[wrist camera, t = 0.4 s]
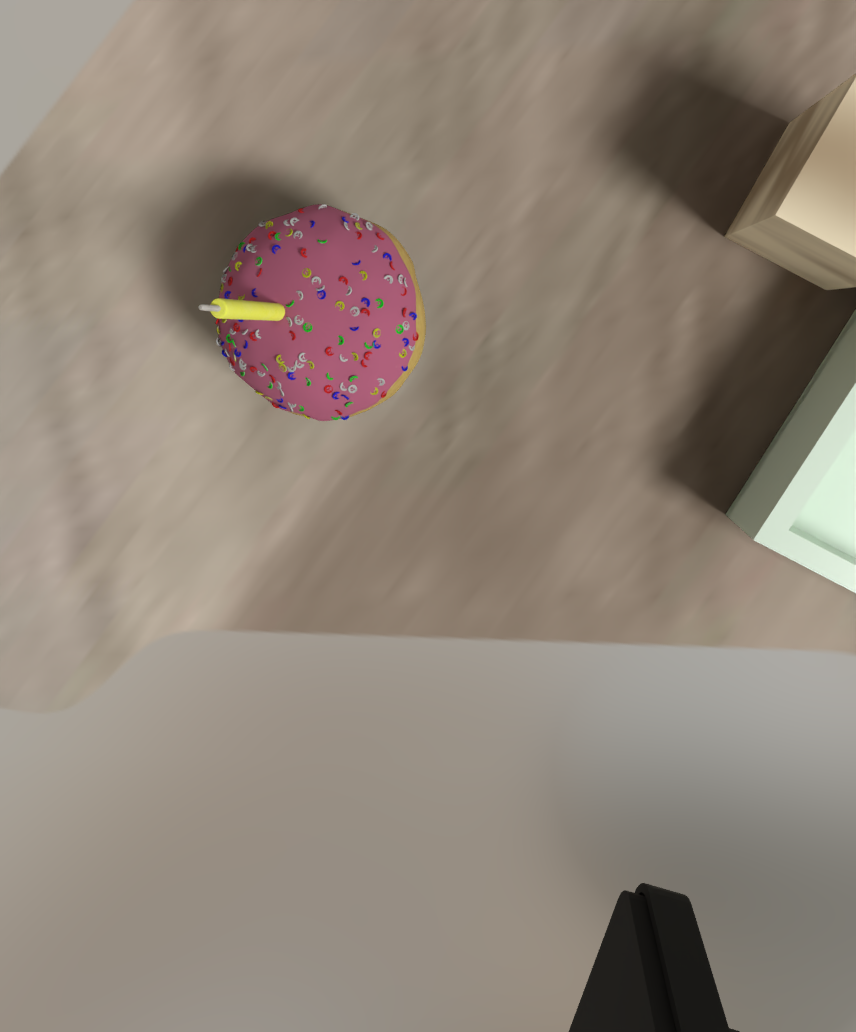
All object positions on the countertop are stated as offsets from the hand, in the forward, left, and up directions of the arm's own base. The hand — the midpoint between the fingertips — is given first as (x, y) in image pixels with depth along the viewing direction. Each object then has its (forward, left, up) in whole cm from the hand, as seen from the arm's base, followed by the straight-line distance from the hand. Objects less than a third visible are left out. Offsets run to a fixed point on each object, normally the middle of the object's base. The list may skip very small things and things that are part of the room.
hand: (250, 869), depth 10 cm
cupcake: (-4, -8, -29) cm, 30 cm away
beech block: (-17, +8, -29) cm, 35 cm away
